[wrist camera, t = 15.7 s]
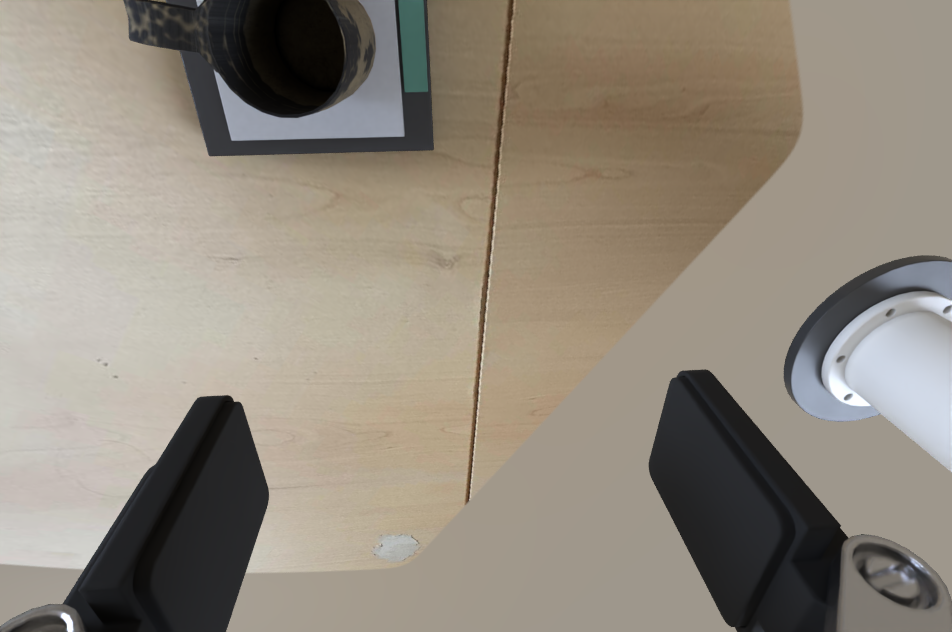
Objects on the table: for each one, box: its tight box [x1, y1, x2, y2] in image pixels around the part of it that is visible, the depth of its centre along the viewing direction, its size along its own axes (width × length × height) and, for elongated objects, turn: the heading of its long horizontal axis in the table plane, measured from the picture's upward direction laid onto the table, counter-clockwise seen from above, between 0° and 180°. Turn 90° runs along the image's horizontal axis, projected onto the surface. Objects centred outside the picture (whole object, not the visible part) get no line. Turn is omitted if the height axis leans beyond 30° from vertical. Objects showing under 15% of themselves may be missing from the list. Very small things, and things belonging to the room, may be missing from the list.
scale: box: [166, 0, 434, 156], centre depth 28 cm, size 14×13×3 cm
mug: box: [123, 0, 376, 118], centre depth 22 cm, size 8×6×12 cm
